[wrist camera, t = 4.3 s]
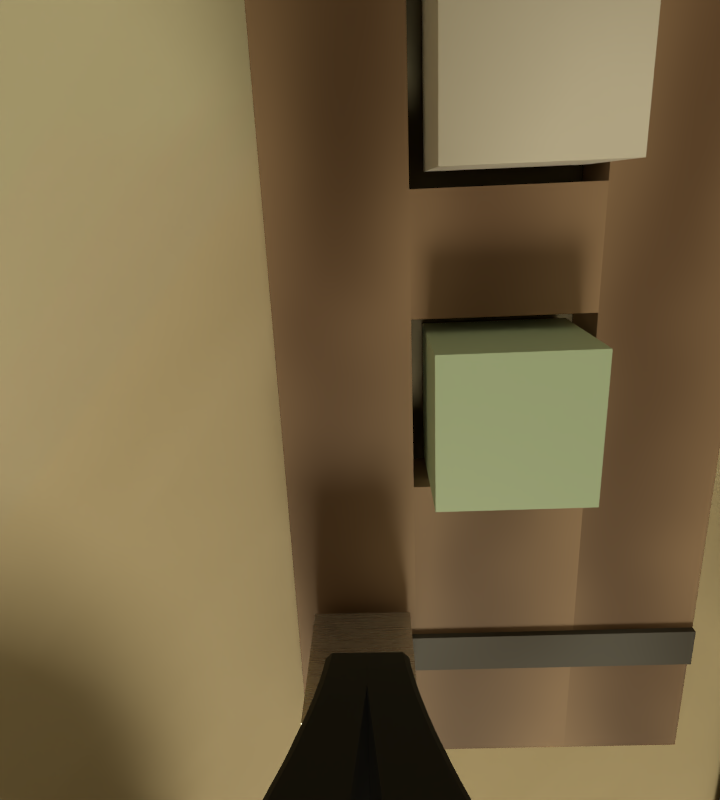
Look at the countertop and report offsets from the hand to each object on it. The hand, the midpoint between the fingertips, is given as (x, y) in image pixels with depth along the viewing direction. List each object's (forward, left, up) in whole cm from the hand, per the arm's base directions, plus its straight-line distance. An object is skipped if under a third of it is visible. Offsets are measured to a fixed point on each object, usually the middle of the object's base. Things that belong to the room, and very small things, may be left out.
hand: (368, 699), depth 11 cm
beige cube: (-4, -11, -8) cm, 14 cm away
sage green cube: (-4, -3, -9) cm, 10 cm away
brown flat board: (-4, -3, -10) cm, 10 cm away
